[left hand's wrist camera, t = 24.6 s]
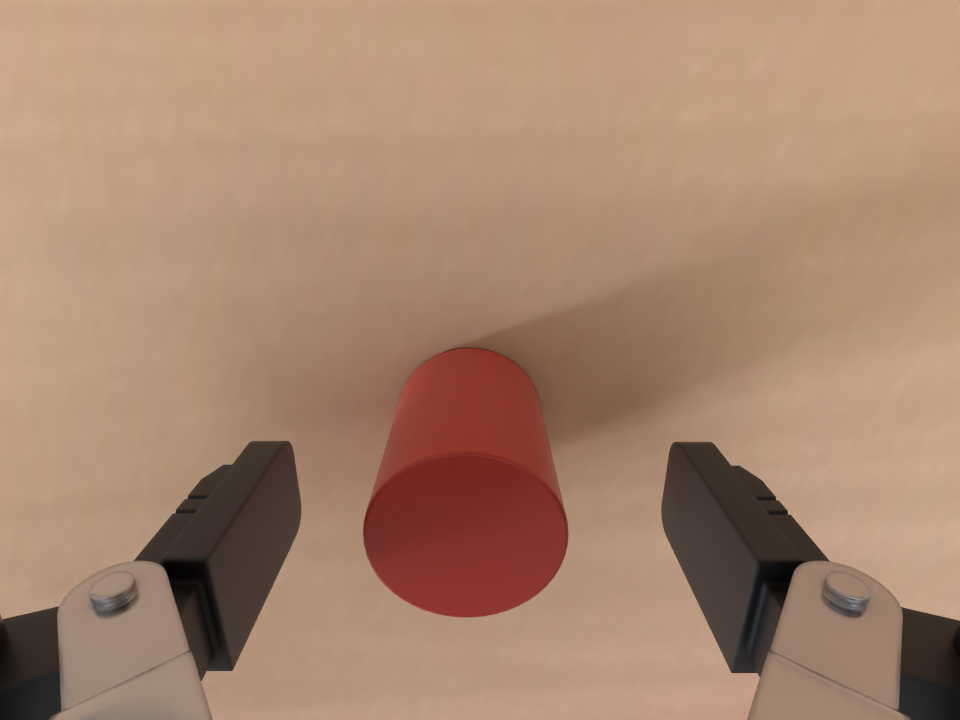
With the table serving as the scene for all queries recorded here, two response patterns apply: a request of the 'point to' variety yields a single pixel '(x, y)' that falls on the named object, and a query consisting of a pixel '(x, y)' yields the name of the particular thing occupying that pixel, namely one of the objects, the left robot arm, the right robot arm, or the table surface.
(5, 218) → the table surface
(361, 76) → the table surface
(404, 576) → the canister
